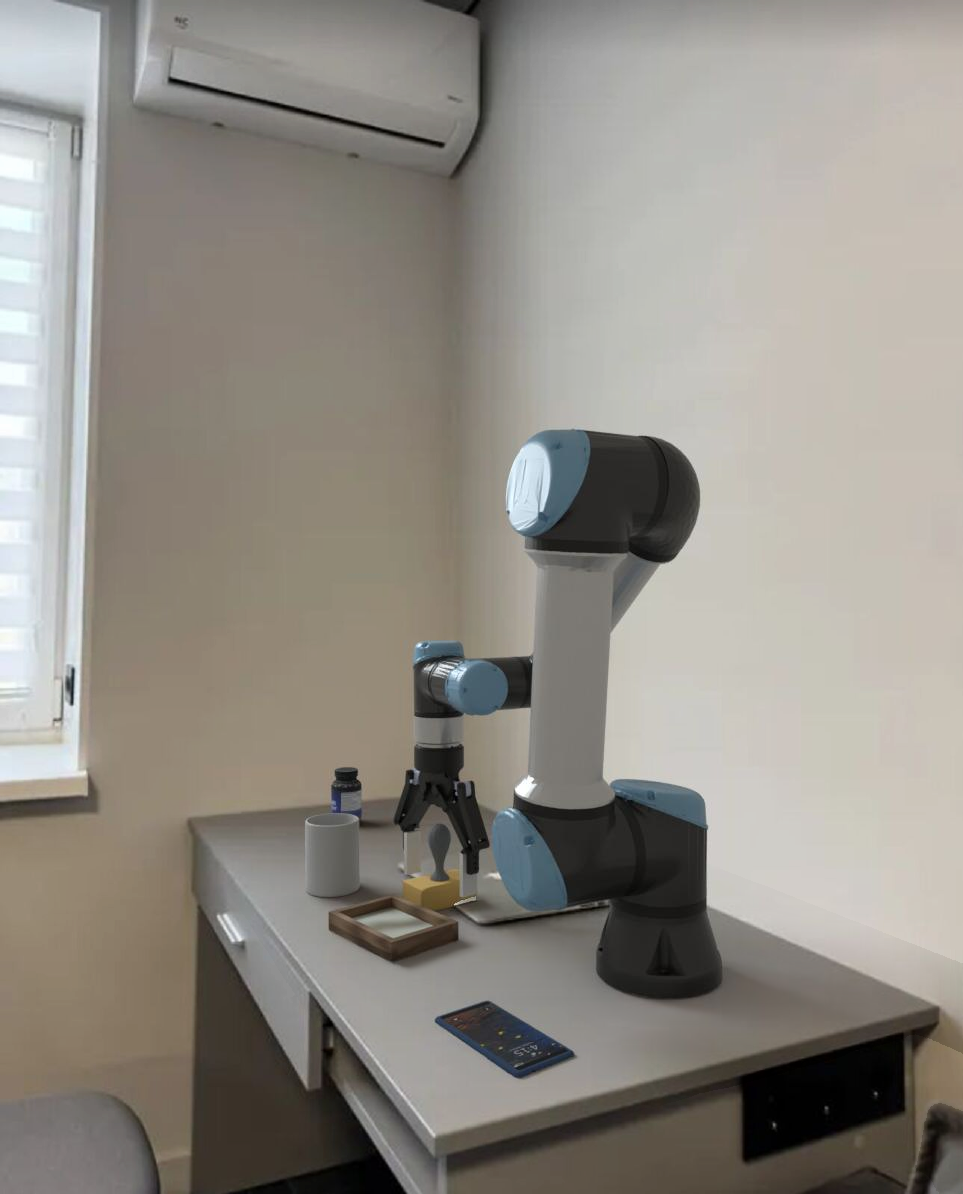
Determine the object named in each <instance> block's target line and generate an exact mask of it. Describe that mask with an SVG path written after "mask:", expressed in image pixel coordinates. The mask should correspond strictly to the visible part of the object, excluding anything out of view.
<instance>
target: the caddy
mask: <svg viewBox="0 0 963 1194" xmlns="http://www.w3.org/2000/svg"><path fill="white" fill-rule="evenodd" d="M328 931H331V932H332V933H334V934H337V935H339V936H340V937H342V938H344V939H346V940H348V941H349V942H352V943H353V944H355V945H356V946H360V947H362V948H363V949H365V950H368V951H369V952H371V953H373V954H374V955H377V956H379V957H380V958H382V959H384V960H386V961H388V962H391V963H394V962H396V961H399V960H402V959H405V958H408V957H412V956H414V955H417V954H420V953H423V952H427V951H429V950H433V949H435V948H440V947H442V946H445V945H448V944H452V943H454V942H457V941H459V935H460V934H459V921H458V920H455V919H454V918H452V917H451V918H450V917H448V916H446V915H444V914H441V913H439V912H438V911H432V910H430V909H427V908H425V907H423V906H420V905H418V904H415V903H413V902H411V901H408V900H406V899H404V898H403V897H400V896H399V895H396V894H394V893H393V894H389V895H386V896H382V897H379V898H373V899H369V900H367V901H363V902H360V903H356V904H352V905H351V904H350V905H348V906H345V907H344V906H343V907H341V908H336V909H333V910H330V911H328Z"/></svg>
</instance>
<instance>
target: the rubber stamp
mask: <svg viewBox="0 0 963 1194" xmlns="http://www.w3.org/2000/svg"><path fill="white" fill-rule="evenodd" d="M451 841H452V833H451V831H450V828H448V827H447V826H446V825H445V824H443V823H435V824H434V825H433V826H432V827H430V829H429V830H428V833H427V843H428V847H429V849H430V852H431V855H432V858H433V860H434V867H435V870H434V872H433V873H430V874H425V875H422V876H418V877H413V878H408V879H404V880H403V881H402V898H404V899H406V900H408V901H411V902H413V903H415V904H418V905H420V906H423V907H425V908H427V909H430V910H432V911H434V912H438V911H441V910H444V909H450V908H453V907H455V906H454V904H455V903H457V902H459V901H461V900H465V899H468V898H471V897H475V896H476V895H477V894H478V893H477V894H474V895H471V896H467V897H464V898H462V897H460V869H457V868H453V869H448V870H445V869H444V867H445V861H446V857H447V855H448V852H449V849H450V845H451Z"/></svg>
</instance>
